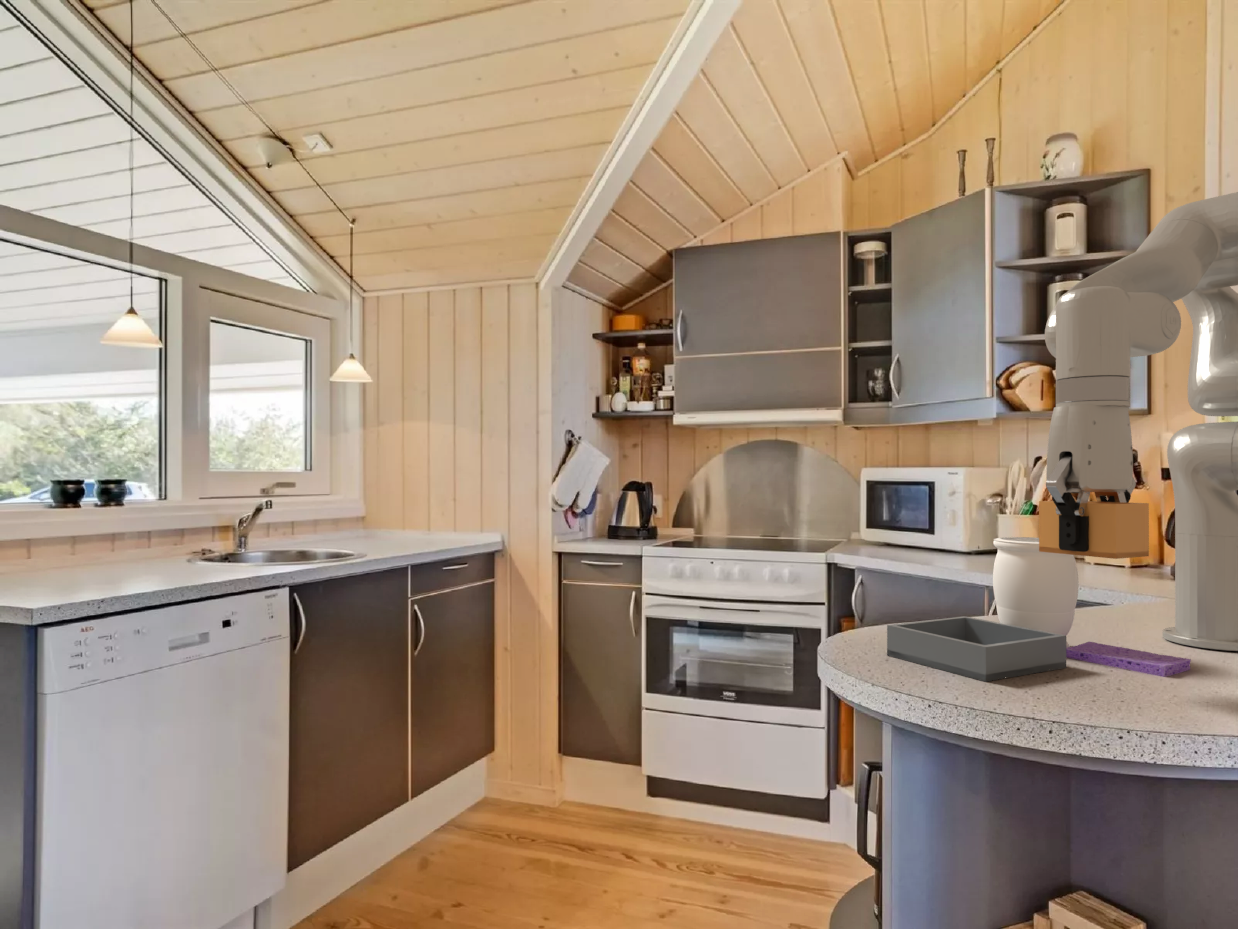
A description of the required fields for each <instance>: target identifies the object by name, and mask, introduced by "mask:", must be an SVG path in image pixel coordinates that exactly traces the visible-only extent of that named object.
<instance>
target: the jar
mask: <svg viewBox="0 0 1238 929" xmlns="http://www.w3.org/2000/svg"><path fill="white" fill-rule="evenodd" d="M992 540H993V541H992V542H993V546H994V547H995V548H996V549H997V553H996V555H995V558H994V564H993V570H992V572H993V573H992V586H993V588H992V589H993V596H994V600H995V605H996V608H995V609H996V612H997V613H996V614H997V617H998V620H999V623H1003V624H1008V625H1013V626H1018V627H1024V628H1029V629H1034V630H1039V631H1045V632H1050V633H1055V634H1060V635H1066V636H1067V635H1068V634H1069V633H1070V631H1071V628H1072V626H1073V622H1074V620H1075V612H1076V607H1077V602H1078V598H1079V597H1078V596H1079V585H1080V584H1079V571H1078V567H1077V561H1076V558H1075V555H1071V554H1060V553H1050V552H1039V537H1026V536H1022V537H1021V536H1020V537H1019V536H1016V537H1015V536H1014V537H1013V536H1011V537H1010V536H1008V537H1005V536H1004V537H997V538H993V539H992ZM1067 647H1070V645H1069V642H1068V641H1067V640H1066V648H1067Z"/></svg>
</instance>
